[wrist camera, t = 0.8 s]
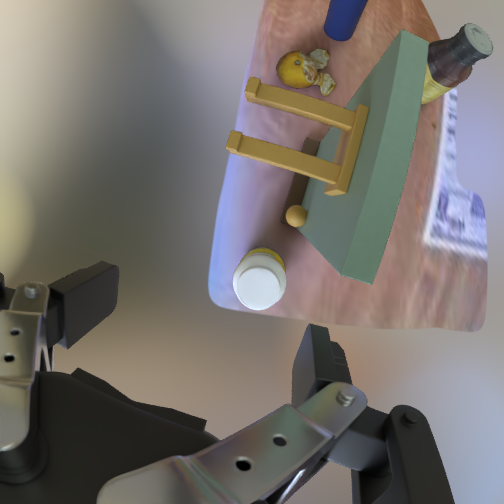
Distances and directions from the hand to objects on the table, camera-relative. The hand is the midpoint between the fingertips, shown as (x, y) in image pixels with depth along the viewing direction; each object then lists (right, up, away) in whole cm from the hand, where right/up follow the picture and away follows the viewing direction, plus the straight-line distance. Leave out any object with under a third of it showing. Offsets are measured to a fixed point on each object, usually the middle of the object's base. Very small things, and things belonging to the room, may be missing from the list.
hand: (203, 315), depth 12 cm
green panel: (+8, +12, +29) cm, 32 cm away
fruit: (+10, +28, +26) cm, 40 cm away
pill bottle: (+3, 0, +31) cm, 31 cm away
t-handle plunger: (+15, +37, +24) cm, 47 cm away
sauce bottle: (+27, +27, +25) cm, 46 cm away
